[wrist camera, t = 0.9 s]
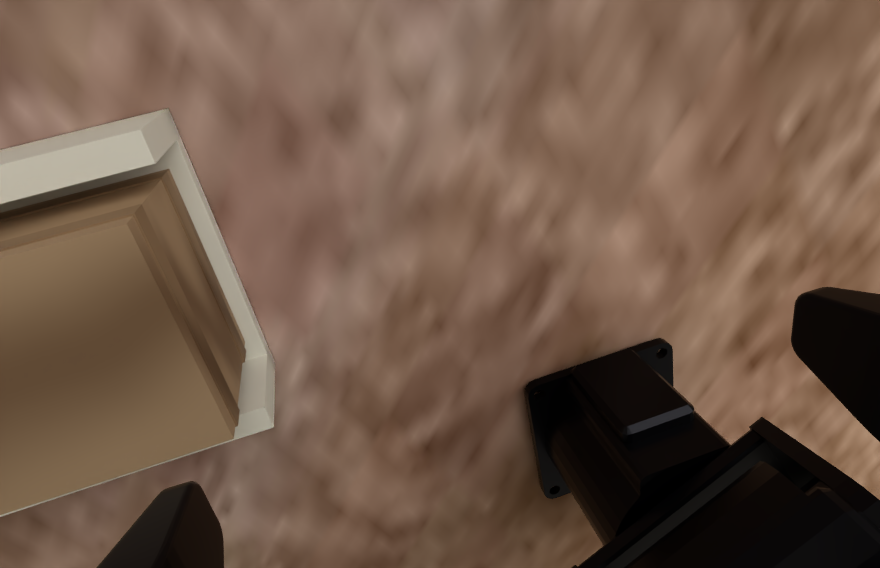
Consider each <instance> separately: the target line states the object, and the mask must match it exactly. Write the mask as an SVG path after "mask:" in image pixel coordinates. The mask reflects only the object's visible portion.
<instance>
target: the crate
mask: <svg viewBox="0 0 880 568" xmlns="http://www.w3.org/2000/svg"><path fill="white" fill-rule="evenodd" d="M245 358H246V349H245V340H244V338H243V336H242V333H241V331H240V329H239V326H238V324H237V322H236V320H235V317H234V315H233V313H232V310H231V308H230V306H229V304H228V301H227V299H226V297H225V295H224V292H223V290H222V288H221V285H220V283H219V281H218V279H217V276H216V274H215V272H214V269H213V267H212V265H211V263H210V260H209V258H208V256H207V254H206V251H205V249H204V247H203V244H202V242H201V240H200V238H199V235H198V233H197V231H196V229H195V226H194V224H193V222H192V219H191V217H190V215H189V213H188V210H187V208H186V206H185V203H184V201H183V199H182V197H181V194H180V192H179V190H178V188H177V185H176V183H175V181H174V178H173V176H172V174H171V172H170V169H166V170H162V171H158V172H154V173H150V174H147V175H143V176H139V177H135V178H131V179H128V180H124V181H120V182H116V183H112V184H108V185H105V186H101V187H97V188H93V189H89V190H86V191H82V192H78V193H74V194H70V195H66V196H63V197H59V198H55V199H51V200H47V201H44V202H40V203H36V204H32V205H28V206H24V207H21V208H17V209H13V210H9V211H5V212H2V213H0V515H2V514H5V513H8V512H12V511H15V510H18V509H21V508H24V507H27V506H30V505H33V504H36V503H39V502H42V501H45V500H48V499H51V498H54V497H57V496H60V495H64V494H67V493H70V492H73V491H76V490H79V489H82V488H85V487H88V486H91V485H94V484H97V483H100V482H103V481H106V480H109V479H112V478H116V477H119V476H122V475H125V474H128V473H131V472H134V471H137V470H140V469H143V468H146V467H149V466H152V465H155V464H158V463H161V462H164V461H167V460H171V459H174V458H177V457H180V456H183V455H186V454H189V453H192V452H195V451H198V450H201V449H204V448H207V447H210V446H213V445H216V444H219V443H223V442H226V441H229V440H232V439H234V433H235V427H237V426H238V421H239V412H240V410H239V408H238V399H239V390H240V381H241V373H242V364H243V363H244V362H245Z"/></svg>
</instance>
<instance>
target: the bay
mask: <svg viewBox="0 0 880 568" xmlns="http://www.w3.org/2000/svg"><path fill="white" fill-rule="evenodd" d="M166 169H170V172H171V174H172V176H173V178H174V181H175V183H176V185H177V188H178V190H179V192H180V194H181V197H182V199H183V201H184V203H185V206H186V208H187V210H188V213H189V215H190V217H191V219H192V222H193V224H194V226H195V229H196V231H197V233H198V235H199V238H200V240H201V242H202V244H203V247H204V249H205V251H206V254H207V256H208V258H209V260H210V263H211V265H212V267H213V269H214V272H215V274H216V276H217V279H218V281H219V283H220V285H221V288H222V290H223V292H224V295H225V297H226V299H227V301H228V304H229V306H230V308H231V310H232V313H233V315H234V317H235V320H236V322H237V324H238V326H239V329H240V331H241V333H242V336H243V338H244V340H245V349H246V358H245V362H244V363H243V364H242V373H241V381H240V390H239V399H238V408H239V410H240V412H239V421H238V426H237V427H235V433H234V439H232V440H229V441H226V442H223V443H219V444H216V445H213V446H210V447H207V448H204V449H201V450H198V451H195V452H192V453H189V454H186V455H183V456H180V457H177V458H174V459H171V460H167V461H164V462H161V463H158V464H155V465H152V466H149V467H146V468H143V469H140V470H137V471H134V472H131V473H128V474H125V475H122V476H119V477H116V478H112V479H109V480H106V481H103V482H100V483H97V484H94V485H91V486H88V487H85V488H82V489H79V490H76V491H73V492H70V493H67V494H64V495H60V496H57V497H54V498H51V499H48V500H45V501H42V502H39V503H36V504H33V505H30V506H27V507H24V508H21V509H18V510H15V511H12V512H8V513H5V514H2V515H0V517H2V516H5V515H8V514H11V513H14V512H17V511H20V510H23V509H26V508H29V507H32V506H35V505H38V504H41V503H44V502H47V501H50V500H53V499H57V498H60V497H63V496H66V495H69V494H72V493H75V492H78V491H81V490H84V489H87V488H90V487H93V486H96V485H99V484H102V483H105V482H108V481H111V480H115V479H118V478H121V477H124V476H127V475H130V474H133V473H136V472H139V471H142V470H145V469H148V468H151V467H154V466H157V465H160V464H163V463H166V462H170V461H173V460H176V459H179V458H182V457H185V456H188V455H191V454H194V453H197V452H200V451H203V450H206V449H209V448H212V447H215V446H218V445H221V444H224V443H228V442H231V441H234V440H237V439H240V438H243V437H246V436H249V435H252V434H255V433H258V432H261V431H264V430H267V429H270V428H273V427H274V402H275V362H274V359H273V357H272V354H271V352H270V350H269V347H268V345H267V342H266V340H265V338H264V335H263V333H262V331H261V328H260V326H259V323H258V321H257V319H256V316H255V314H254V311H253V309H252V307H251V304H250V302H249V299H248V297H247V295H246V292H245V290H244V288H243V285H242V283H241V280H240V278H239V276H238V273H237V271H236V268H235V266H234V264H233V261H232V259H231V256H230V254H229V252H228V249H227V247H226V245H225V242H224V240H223V237H222V235H221V233H220V230H219V228H218V225H217V223H216V221H215V218H214V216H213V214H212V211H211V209H210V206H209V204H208V202H207V199H206V197H205V194H204V192H203V190H202V187H201V185H200V182H199V180H198V178H197V175H196V173H195V171H194V168H193V166H192V163H191V161H190V159H189V156H188V154H187V151H186V149H185V147H184V144H183V142H182V139H181V137H180V135H179V132H178V130H177V128H176V125H175V123H174V120H173V118H172V116H171V113H170V111H169V108H167V109H163V110H159V111H155V112H151V113H147V114H143V115H139V116H135V117H131V118H127V119H123V120H119V121H115V122H111V123H107V124H103V125H99V126H95V127H91V128H87V129H83V130H79V131H75V132H71V133H67V134H62V135H58V136H54V137H50V138H46V139H42V140H38V141H34V142H30V143H26V144H22V145H18V146H14V147H10V148H6V149H2V150H0V213H2V212H5V211H9V210H13V209H17V208H21V207H24V206H28V205H32V204H36V203H40V202H44V201H47V200H51V199H55V198H59V197H63V196H66V195H70V194H74V193H78V192H82V191H86V190H89V189H93V188H97V187H101V186H105V185H108V184H112V183H116V182H120V181H124V180H128V179H131V178H135V177H139V176H143V175H147V174H150V173H154V172H158V171H162V170H166Z"/></svg>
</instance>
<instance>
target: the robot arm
mask: <svg viewBox="0 0 880 568" xmlns="http://www.w3.org/2000/svg"><path fill="white" fill-rule="evenodd" d="M791 343H792V347H793V349H794V351H795V353H796V354H797V356H798V357H799V358H800V359H801V360H802V361H803V362H804V363H805V364H806V365H807V367H808V368H809V369H810V370H811V371H812V372H813V373H814V374H815V375H816V376H817V377H818V378H819V379H820V380H821V382H822V383H823V384H824V385H825V386H826V387H827V388H828V389H829V390H830V391H831V392H832V393H833V394H834V395H835V396H836V398H837V399H838V400H839V401H840V402H841V403H842V404H843V405H844V406H845V407H846V408H847V409H848V410H849V411H850V412H851V414H852V415H853V416H854V417H855V418H856V419H857V420H858V421H859V422H860V423H861V424H862V425H863V426H864V427H865V428H866V429H867V430H868V431H869V432H870V433H871V434H872V435H873V436H874V437H875V438H876V439H877V440H878V441H879V442H880V294H875V293H868V292H861V291H854V290H847V289H840V288H833V287H822V288H818V289H815V290H812V291H809V292H805V293H803V294H801V295H800V296H798V298H797V300H796V302H795V307H794V316H793V326H792V335H791ZM660 349H661V350H660ZM658 350H660V351H659V352H658ZM657 352H658V353H657ZM538 390H541V391H540V393H538V394H535V392H536V391H538ZM534 394H535V395H534ZM525 399H526V404H527V410H528V416H529V422H530V427H531V433H532V439H533V445H534V450H535V456H536V462H537V468H538V473H539V479H540V485H541V489H542V491H543V492H544V494H545V496H546V497H547V498H550V499H553V498H557V497H560V496H562V495H565V494H568V493H572V495H573V496H574V498H575V500H576V501H577V503H578V505H579V506H580V508H581V509H582V511H583V513H584V514H585V516H586V518H587V519H588V521H589V523H590V524H591V526H592V527H593V529H594V531H595V532H596V534H597V536H598V537H599V539H600V541H601V542H602V544H603V545H604V546H603V547H602V548H601V549H599V550H598V551H597V552H596V553H594V554H593V555H592V556H590V557H589V558H588V559H587V560H585V561H584V562H583V563H582V564H580V565H579V566H576V565H575V566H573V567H572V568H880V500H879V499H877V498H876V497H875V496H874V495H872V494H871V493H870V492H869V491H867V490H866V489H865V488H864V487H862V486H861V485H860V484H858V483H857V482H856V481H854V480H853V479H852V478H850V477H849V476H847V475H846V474H844V473H843V472H842V471H840V470H839V469H837V468H836V467H834V466H833V465H831V464H830V463H828V462H827V461H826V460H824V459H823V458H821V457H820V456H818V455H817V454H815V453H814V452H812V451H811V450H810V449H808V448H807V447H805V446H804V445H802V444H801V443H799V442H798V441H796V440H795V439H794V438H792V437H791V436H789V435H788V434H786V433H785V432H783V431H782V430H780V429H779V428H778V427H776V426H775V425H773V424H772V423H770V422H769V421H767V420H766V419H764V418H763V417H761V418H760V419H759V420H757V421H756V422H755V423H753V424H752V425H751V426H750V427H749V428H750V430H749V431H748V432H747V433H746V434H744V435H743V436H742V437H741V438H739V439H738V440H737V441H736V442H734V443H733V444H732V445H730V444H729V443H728V442H727V441H726V440H725V439H724V438H723V437H722V436H721V435H720V434H719V433H718V432H717V431H715V430H714V429H713V428H712V427H711V426H710V425H709V424H708V423H707V422H706V421H705V420H704V419H703V418H702V417H701V416H700V415H699V414H698V413H696V412H695V411H694V407H693V405H692V404H691V403H689V402H688V401H687V400H686V399H685V398H684V397H683V396H682V395H681V394H680V393H679V392H678V391H677V390H676V389H675V388H673V350H672V346H671V345H670V344H669V343H668V342H666V341H665V340H664V339H661V338H658V339H654V340H651V341H648V342H645V343H642V344H639V345H636V346H633V347H630V348H627V349H624V350H621V351H618V352H615V353H612V354H609V355H606V356H603V357H600V358H597V359H594V360H592V361H589V362H586V363H583V364H580V365H577V366H574V367H571V368H568V369H565V370H562V371H559V372H556V373H553V374H550V375H547V376H544V377H541V378H538V379H535V380H533V381H531V382H530V383H529V384H528V385H527V386H526V388H525ZM553 486H554V487H553ZM97 568H224V546H223V534H222V529H221V526H220V523H219V521H218V519H217V517H216V515H215V513H214V511H213V509H212V507H211V505H210V503H209V501H208V499H207V497H206V495H205V494H204V492H203V490H202V488H201V486H200V485H199V484H198V483H197V482H193V481H190V482H186V483H183V484H180V485H176V486H173V487H170V488H167V489H165V490H163V491H162V492H161V493H160V494H159V495H158V496H157V497H156V498H155V499H154V501H153V502H152V503H151V504H150V505H149V506H148V508H147V509H146V510H145V511H144V512H143V514H142V515H141V516H140V517H139V518H138V519H137V521H136V522H135V523H134V524H133V525H132V527H131V528H130V529H129V530H128V531H127V532H126V534H125V535H124V536H123V537H122V538H121V540H120V541H119V542H118V543H117V544H116V545H115V547H114V548H113V549H112V550H111V551H110V553H109V554H108V555H107V556H106V557H105V558H104V560H103V561H102V562H101V563H100V564H99V566H98V567H97Z"/></svg>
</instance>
